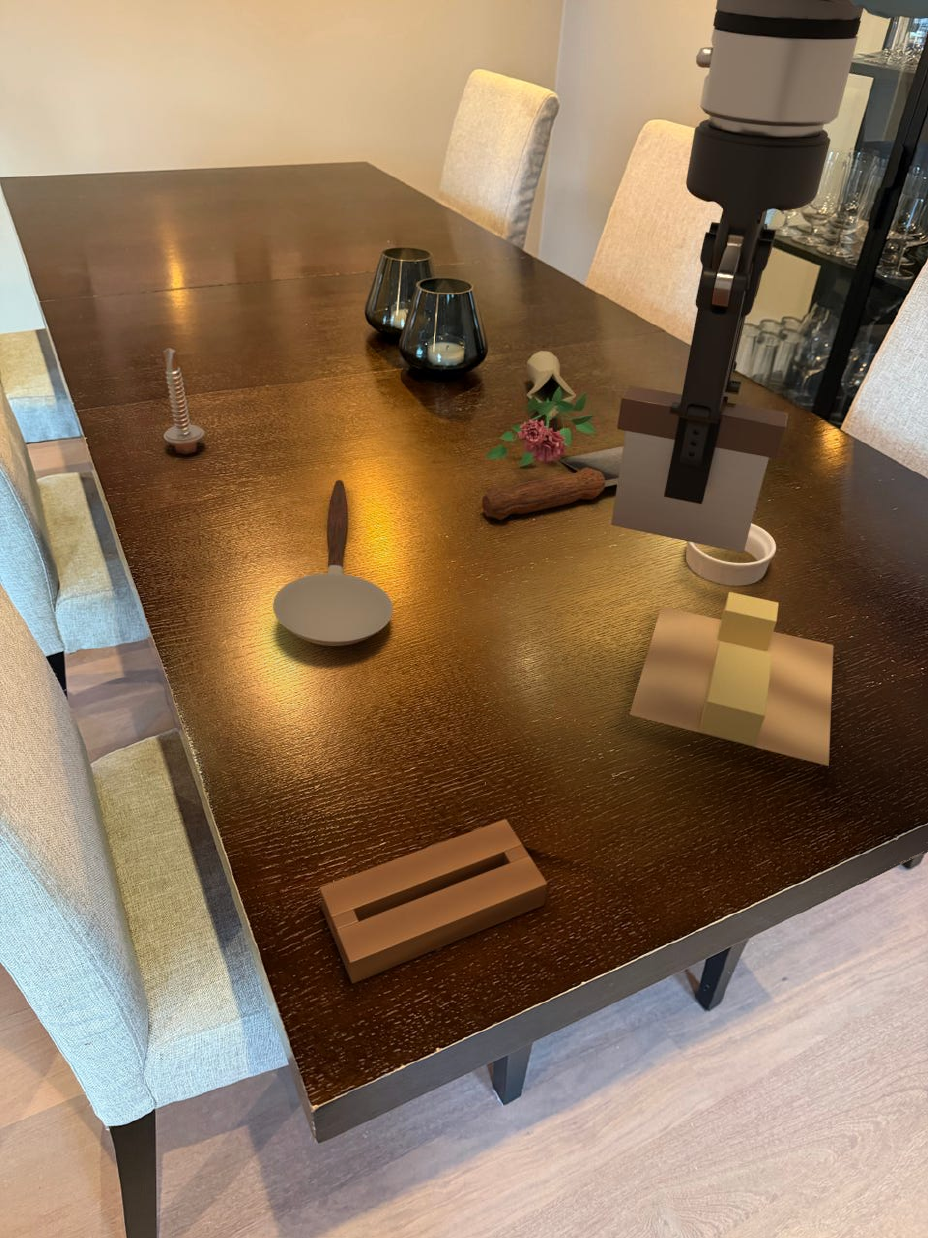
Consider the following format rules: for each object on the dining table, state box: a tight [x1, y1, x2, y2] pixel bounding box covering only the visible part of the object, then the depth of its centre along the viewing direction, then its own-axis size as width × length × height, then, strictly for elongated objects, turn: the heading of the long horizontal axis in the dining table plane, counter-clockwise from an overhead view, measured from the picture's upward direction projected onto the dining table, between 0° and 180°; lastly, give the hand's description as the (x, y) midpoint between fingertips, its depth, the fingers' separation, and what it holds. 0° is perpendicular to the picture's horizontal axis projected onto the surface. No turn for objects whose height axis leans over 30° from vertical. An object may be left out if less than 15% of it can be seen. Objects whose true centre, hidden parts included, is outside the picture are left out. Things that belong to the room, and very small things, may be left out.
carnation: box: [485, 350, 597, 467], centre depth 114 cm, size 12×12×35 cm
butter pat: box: [718, 591, 780, 651], centre depth 82 cm, size 3×4×4 cm, turn 71°
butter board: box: [629, 606, 834, 767], centre depth 79 cm, size 16×16×2 cm
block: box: [319, 818, 548, 985], centre depth 60 cm, size 6×14×2 cm, turn 116°
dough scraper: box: [610, 385, 789, 554], centre depth 64 cm, size 2×11×11 cm, turn 70°
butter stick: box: [699, 642, 772, 747], centre depth 74 cm, size 8×4×4 cm, turn 161°
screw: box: [163, 347, 206, 455], centre depth 107 cm, size 13×5×5 cm
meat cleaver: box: [481, 445, 623, 521], centre depth 108 cm, size 34×11×4 cm, turn 116°
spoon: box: [272, 479, 394, 647], centre depth 92 cm, size 11×33×3 cm, turn 5°
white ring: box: [685, 522, 777, 587], centre depth 92 cm, size 9×9×4 cm
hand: (687, 487), depth 65 cm, fingers closed on dough scraper, 2 cm apart
